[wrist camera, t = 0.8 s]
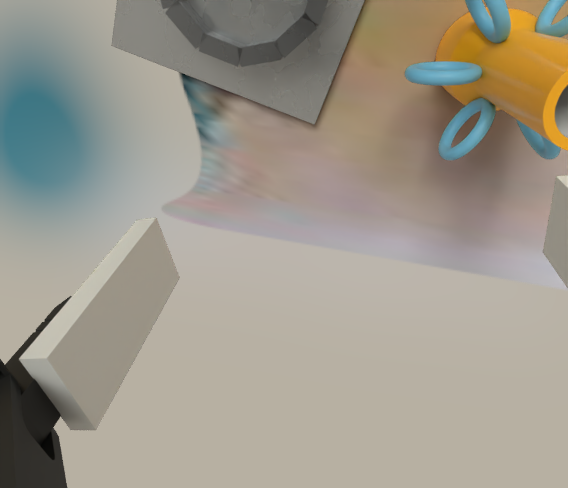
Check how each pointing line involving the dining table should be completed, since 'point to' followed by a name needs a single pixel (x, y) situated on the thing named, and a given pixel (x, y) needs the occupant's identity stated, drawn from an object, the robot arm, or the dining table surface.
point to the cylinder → (503, 74)
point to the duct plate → (245, 25)
